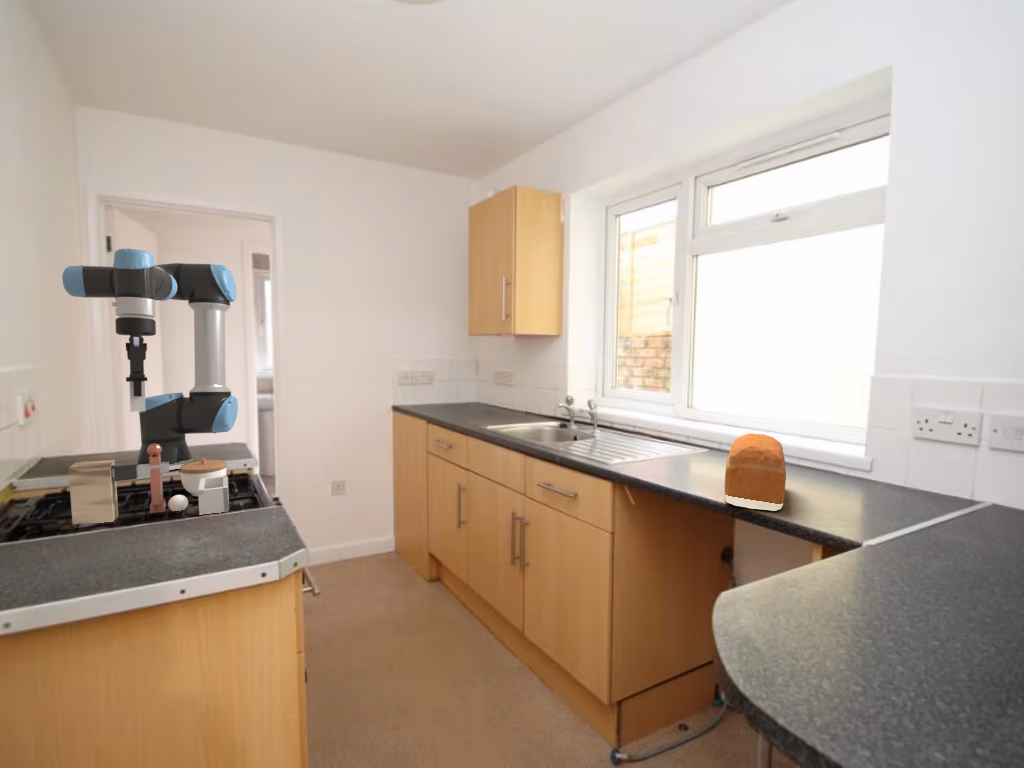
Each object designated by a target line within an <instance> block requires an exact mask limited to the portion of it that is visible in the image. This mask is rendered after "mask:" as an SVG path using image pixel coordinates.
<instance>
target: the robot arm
mask: <svg viewBox="0 0 1024 768" xmlns="http://www.w3.org/2000/svg"><path fill="white" fill-rule="evenodd" d="M113 256H114V257H113V264H112V266H100V265H99V266H98V265H97V266H96V265H83V264H81V265H69V266H67V267H65V269H64V270H63V272H62V276H61V277H62V278H61V280H62V285H63V288H64V290H65V291H66V293H67V294H68V295H69V296H71V297H77V298H78V297H79V298H84V299H85V298H97V299H99V298H106V299H107V298H110V299H111V298H112V299H113V298H114V299H115V301H113V302H111V306H112V307H115V309H114V310H115V315H116V316H118V317H117V318H116V319H115V321H114V322H115V333H116V334H117V335H119V336H129V337H128V342H125V350H126V353H127V354H126V355H127V360H128V361H129V375H128V377H127V376H126V377H125V382H127V383H128V382H129V402H130V403H129V406H130V410H129V411H130V412H131V413H132V412H133V413H134V412H136V413H137V412H138V415H139V417H138V418H139V429H140V438H141V439H140V443H141V446H140V449H139V452H138V455H137V458H136V461H138V465H141V464H150V460H149V457H150V456H151V455H150V454H149V453H148V452H147V448H148V447H149V446H150V445H151V444H159V445H160V446H161V447H162V451H161V453H160V456H161V463H162V462H169V464H174V463H179V462H183V461H187V460H190V459H192V458H193V459H194V457H193V455H192V453H191V450H190V448H189V445H188V443H187V441H186V434H187V435H189V434H194V435H195V434H218V433H226V432H229V431H231V430H232V429H233V427H234V426H235V424H236V420H237V416H238V411H239V403H238V398H237V397H236V396H235V395H232V390H231V389H230V388H229V387H227V385H226V379H227V378H226V312H227V311H228V310H230V308H231V303H233V302H235V301H236V300H237V287H236V282H235V278H234V275H233V274H232V271H231V269H230V268H229V267H228V266H226V265H223V264H216V263H215V264H214V263H182V262H181V263H180V262H175V263H174V262H173V263H163V264H162V263H161V264H156V263H155V257H154V255H153V254H152V253H151V252H150V251H147V250H143V249H136V248H119V249H117V250H115V251H114V254H113ZM168 300H172V301H173V300H174V301H187V303H188V307H189V308H190V309H192V310H193V319H194V320H193V324H194V325H193V329H194V330H193V331H194V334H193V336H194V337H193V338H194V343H193V345H194V348H193V349H194V386H193V388H191V389H190V390H189V392H188V393H189V394H188V395H189V396H187V397H186V396H185V395H184V393H183V392H172V393H171V392H170V393H166V394H158V395H153V396H148V397H146V382H148V377H147V376H146V374H145V367H144V366H145V364H144V361H145V360H146V359H147V351H148V343H147V342H144V341H145V339H144V337H150V336H151V337H152V336H155V335H156V334H157V330H156V329H157V328H156V327H157V325H156V320H155V319H153V318H156V315H157V314H156V310H157V309H156V301H161V302H162V301H168Z"/></svg>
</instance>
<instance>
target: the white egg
mask: <svg viewBox="0 0 1024 768" xmlns="http://www.w3.org/2000/svg"><path fill="white" fill-rule="evenodd" d="M188 506H189V499H188V498H187V497H186V496H185V495H182V494H176V495H174V496H172V497H171V498H169V500H168V502H167V507H168V509H169V510H170V511H172V512H174V511H180V512H182V511H181V510H183V511H184V510H186V509H187V508H188Z"/></svg>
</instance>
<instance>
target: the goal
mask: <svg viewBox="0 0 1024 768" xmlns="http://www.w3.org/2000/svg"><path fill="white" fill-rule="evenodd" d="M197 497H198V510H199V511H198V512H199V513H198V514H199V515H203V514H211V513H219V514H222V513H221V512H226V513H229V512H230V506H229V505H230V502H229V501H230V500H229V499H230V497H229V477H228V475H227V474H226V476H218V477H209V478H200V484H199V489H198V496H197ZM228 511H229V512H228ZM211 515H212V514H211Z"/></svg>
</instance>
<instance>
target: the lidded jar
mask: <svg viewBox="0 0 1024 768" xmlns="http://www.w3.org/2000/svg"><path fill="white" fill-rule="evenodd" d="M227 465H228V464H227V461H225V460H221V459H206V457H203V458H202V457H201V458H200V460H198V461H193V462H191V463H187V464H184V465H182V466H181V467H180V470H179V472H180V480H181V485H182V486H183V488H184V489H185V490H186V492H187V493H189V494H191V496H193V497H198V489H199V484H200V478H209V477H218V476H227V470H228V469H227Z"/></svg>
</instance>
